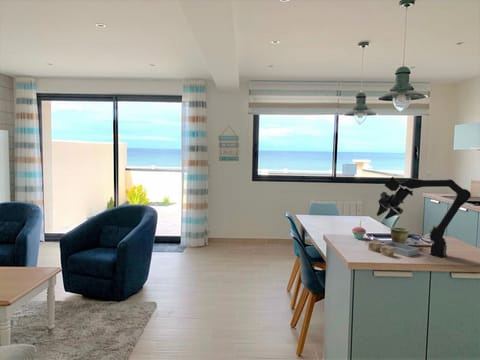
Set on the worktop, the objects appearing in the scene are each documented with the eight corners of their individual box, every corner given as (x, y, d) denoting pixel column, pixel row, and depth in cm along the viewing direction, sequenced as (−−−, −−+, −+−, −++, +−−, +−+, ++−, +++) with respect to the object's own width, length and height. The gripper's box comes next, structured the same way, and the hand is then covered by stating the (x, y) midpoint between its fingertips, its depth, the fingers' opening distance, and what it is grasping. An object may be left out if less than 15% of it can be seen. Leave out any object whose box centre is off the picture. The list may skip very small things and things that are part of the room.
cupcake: (354, 235, 222) (355, 218, 222) (367, 238, 217) (368, 220, 216) (349, 238, 216) (350, 219, 215) (362, 240, 210) (364, 221, 210)
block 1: (380, 251, 188) (380, 243, 188) (375, 252, 185) (375, 244, 185) (373, 249, 192) (373, 241, 191) (368, 250, 189) (368, 242, 189)
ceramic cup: (411, 248, 196) (412, 231, 195) (393, 247, 196) (395, 230, 195) (400, 242, 209) (401, 226, 208) (384, 241, 209) (385, 226, 208)
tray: (418, 253, 184) (419, 248, 184) (407, 256, 178) (407, 251, 178) (392, 246, 198) (392, 241, 197) (380, 249, 192) (381, 243, 192)
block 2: (393, 255, 180) (394, 247, 179) (388, 257, 177) (388, 248, 177) (385, 253, 183) (386, 245, 183) (380, 254, 181) (381, 246, 181)
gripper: (397, 192, 201) (380, 211, 206) (381, 184, 190) (363, 205, 196) (411, 203, 193) (393, 223, 198) (395, 196, 182) (376, 217, 187)
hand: (381, 217), depth 195 cm, fingers open, 9 cm apart
